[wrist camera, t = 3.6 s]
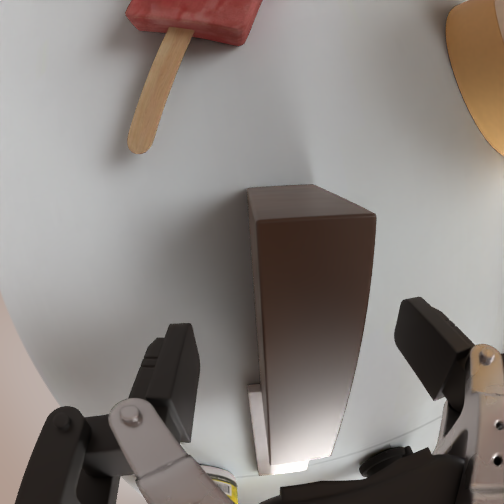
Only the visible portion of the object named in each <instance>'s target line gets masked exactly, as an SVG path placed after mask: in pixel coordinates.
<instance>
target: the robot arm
mask: <svg viewBox="0 0 504 504" xmlns="http://www.w3.org/2000/svg"><path fill="white" fill-rule="evenodd" d="M394 339H395V343H396V346H397V347H398V349H399V350H400V352H401V353H402V355H403V356H404V357H405V359H406V360H407V362H408V363H409V365H410V366H411V368H412V369H413V370H414V372H415V373H416V375H417V376H418V378H419V379H420V381H421V382H422V384H423V385H424V387H425V388H426V390H427V391H428V393H429V394H430V396H431V398H432V399H433V401H436V400H438V399H440V398H443V397H446V399H447V400H446V402H445V404H444V407H443V414H442V420H441V426H440V432H439V437H438V441H437V445H436V447H435V449H434V451H433V453H432V454H431V452H430V450H429V448H428V447H427V448H425V449H423V450H420V451H418V452H416V453H413V454H411V455H408V456H406V457H403V458H400V459H398V460H396V461H395V462H393V463H391V464H390V465H388V466H387V467H385V468H383V469H382V470H380V471H378V472H377V473H375V474H373V475H372V476H370V477H368V478H366V479H363V480H348V481H318V482H313V483H307V484H301V485H294V486H286V487H280V495H279V496H276V497H273V498H270V499H268V500H265V501H263V502H261V503H259V504H504V354H500V353H499V351H498V350H497V349H495V348H494V347H492V346H490V345H486V344H478V345H474V344H473V343H472V341H471V340H470V339H469V338H468V337H467V336H466V335H465V334H464V333H463V332H462V331H461V330H460V329H459V328H458V327H457V326H455V324H454V323H453V322H452V321H451V320H450V321H449V319H448V318H447V317H446V316H445V315H444V314H443V313H442V312H441V311H439V310H437V309H435V308H433V307H431V306H430V305H429V304H428V303H427V302H426V301H425V300H424V299H423V298H421V297H415V298H410V299H405V300H403V301H402V302H401V305H400V310H399V314H398V319H397V323H396V328H395V332H394ZM199 374H200V359H199V354H198V350H197V345H196V341H195V337H194V332H193V328H192V325H191V323H181V324H170V325H169V327H168V330H167V332H166V335H165V338H156V339H155V340H154V341H153V342H152V343H151V344H150V345H149V346H148V348H147V351H146V353H145V356H144V359H143V361H142V363H141V367H140V368H139V371H138V374H137V376H136V379H135V382H134V384H133V387H132V390H131V392H130V395H129V398H128V399H125V400H123V401H121V402H119V403H117V404H116V405H115V406H114V407H113V408H112V409H111V411H110V413H109V414H107V415H101V416H93V417H84V416H83V415H82V414H81V412H80V411H79V410H78V409H76V408H74V407H71V406H64V407H60V408H58V409H56V410H54V411H53V412H52V413H51V414H50V415H49V416H48V417H47V420H46V422H45V424H44V426H43V428H42V430H41V433H40V436H39V438H38V440H37V442H36V445H35V447H34V450H33V452H32V455H31V457H30V460H29V462H28V465H27V468H26V471H25V473H24V476H23V479H22V482H21V486H20V488H19V492H18V495H17V498H16V502H15V504H116V499H117V493H118V487H119V480H120V476H123V475H132V474H135V476H136V478H137V479H136V480H135V481H136V484H137V486H138V488H139V490H140V492H141V493H142V495H143V496H144V498H145V500H146V501H147V503H148V504H235V503H234V502H233V501H232V500H231V499H230V498H229V497H228V496H227V495H226V494H225V493H224V492H223V491H222V490H221V488H220V487H219V486H218V485H217V484H216V483H215V482H214V481H213V480H212V479H211V478H210V477H209V475H208V474H207V473H206V472H205V471H204V470H203V469H202V467H201V466H200V465H199V464H198V463H197V462H196V460H195V459H194V458H193V457H192V456H191V455H188V454H187V453H186V452H185V450H184V449H183V448H182V447H181V445H180V442H185V443H191V434H192V426H193V418H194V410H195V403H196V395H197V388H198V381H199Z"/></svg>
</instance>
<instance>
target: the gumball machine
mask: <svg viewBox="0 0 504 504" xmlns="http://www.w3.org/2000/svg"><path fill="white" fill-rule="evenodd" d="M389 445H390V444H389ZM411 454H413V452H412V450H411V448H410V446H407V447H397V448H393V449H389V450H387V451H384V452H382V453H380V454H378V455H376V456H374V457H372V458H370V459H369V460H367V461H366V462H365V463H363V464H362V465H361V467H360V468H359V472H360V473H361V475H362V476H364V477H367V478H368V477H370V476H372V475H373V474H375V473H377V472H378V471H380V470H382V469H383V468H385V467H387V466H388V465H390V464H391V463H393V462H395V461H396V460H398V459H400V458H403V457H406V456H408V455H411Z"/></svg>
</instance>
